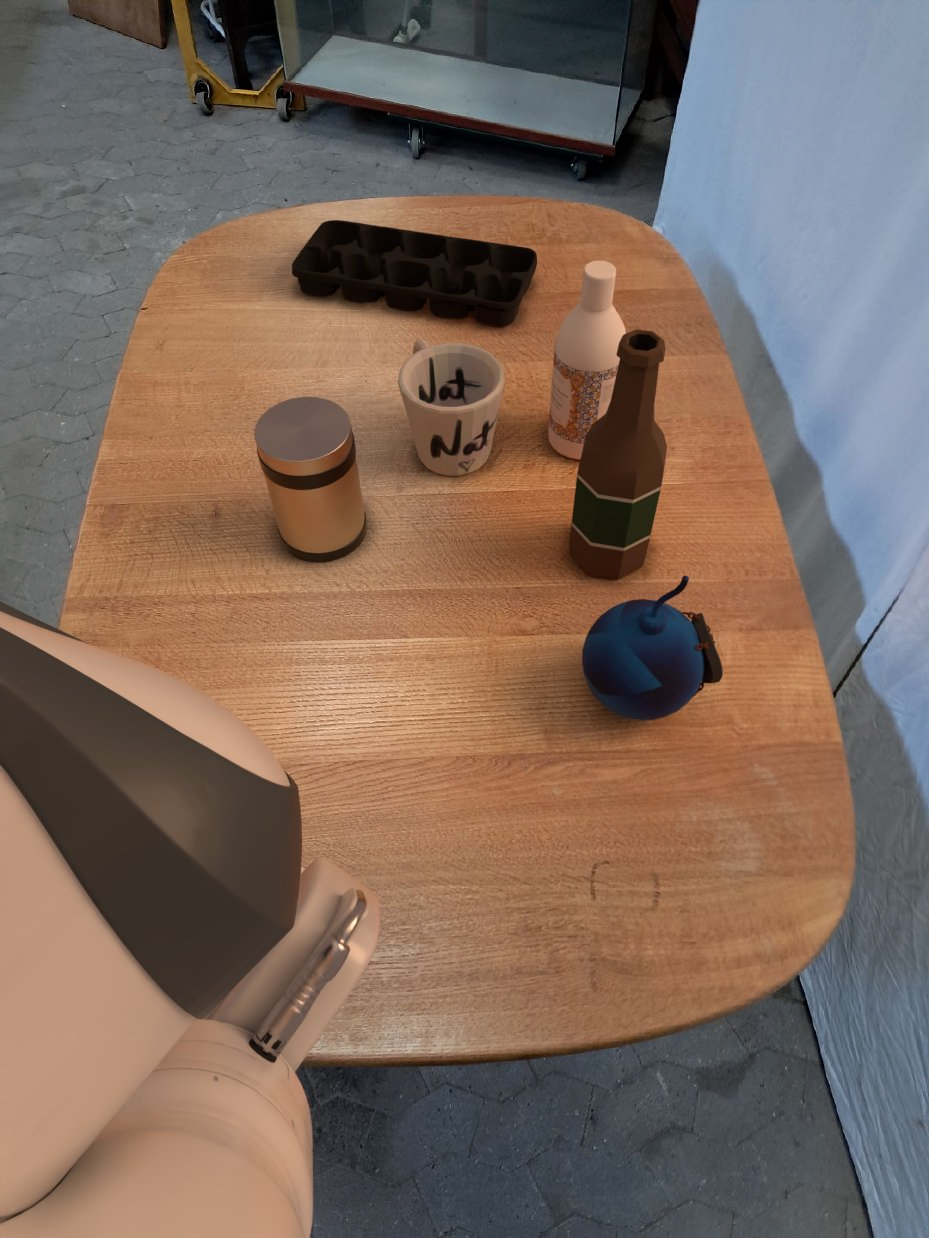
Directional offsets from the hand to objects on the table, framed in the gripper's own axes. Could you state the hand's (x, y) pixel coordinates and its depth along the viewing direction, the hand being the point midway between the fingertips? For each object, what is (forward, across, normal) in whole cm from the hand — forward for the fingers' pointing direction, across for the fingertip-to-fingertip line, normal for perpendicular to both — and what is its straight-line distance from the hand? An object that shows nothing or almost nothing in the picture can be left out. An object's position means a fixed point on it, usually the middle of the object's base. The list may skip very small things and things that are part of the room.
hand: (219, 1027), depth 44 cm
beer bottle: (+35, -44, +8) cm, 57 cm away
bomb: (+27, -33, +16) cm, 45 cm away
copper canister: (+42, -30, -16) cm, 54 cm away
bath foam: (+44, -54, 0) cm, 70 cm away
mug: (+46, -46, -12) cm, 66 cm away
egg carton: (+61, -64, -27) cm, 93 cm away
